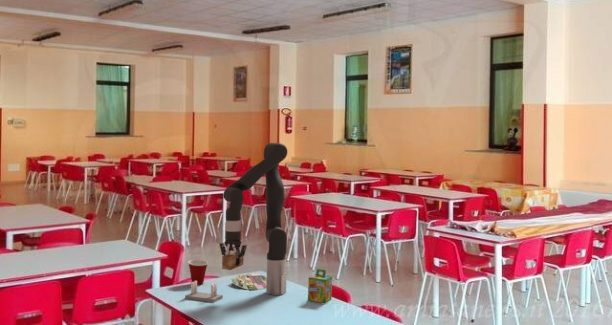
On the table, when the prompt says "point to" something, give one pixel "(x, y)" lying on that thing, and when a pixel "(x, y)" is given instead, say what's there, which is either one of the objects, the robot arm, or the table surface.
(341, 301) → the table surface
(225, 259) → the brown wooden block
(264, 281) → the city model
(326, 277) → the green yellow handled box
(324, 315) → the table surface
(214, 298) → the peg rack
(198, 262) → the plastic cup
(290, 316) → the table surface
